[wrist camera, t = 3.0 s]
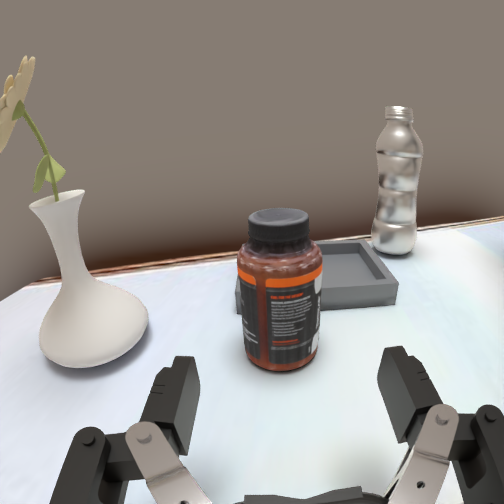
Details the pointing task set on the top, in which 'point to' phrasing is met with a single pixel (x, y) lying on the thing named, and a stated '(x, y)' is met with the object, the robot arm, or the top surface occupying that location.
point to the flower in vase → (72, 263)
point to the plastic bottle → (397, 183)
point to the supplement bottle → (280, 289)
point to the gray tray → (351, 277)
